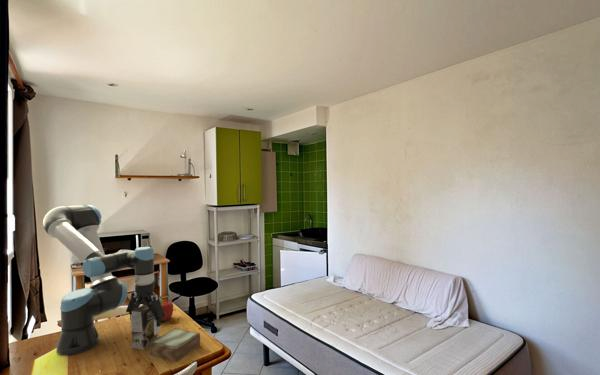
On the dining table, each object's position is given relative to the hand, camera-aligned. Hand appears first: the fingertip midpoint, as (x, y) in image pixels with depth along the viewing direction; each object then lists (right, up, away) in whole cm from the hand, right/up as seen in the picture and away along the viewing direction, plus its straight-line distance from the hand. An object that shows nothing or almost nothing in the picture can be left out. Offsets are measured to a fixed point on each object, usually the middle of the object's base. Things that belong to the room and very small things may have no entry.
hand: (145, 330), depth 140 cm
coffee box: (0, -6, 0) cm, 6 cm away
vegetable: (-3, -6, +25) cm, 25 cm away
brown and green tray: (+15, -6, -5) cm, 17 cm away
